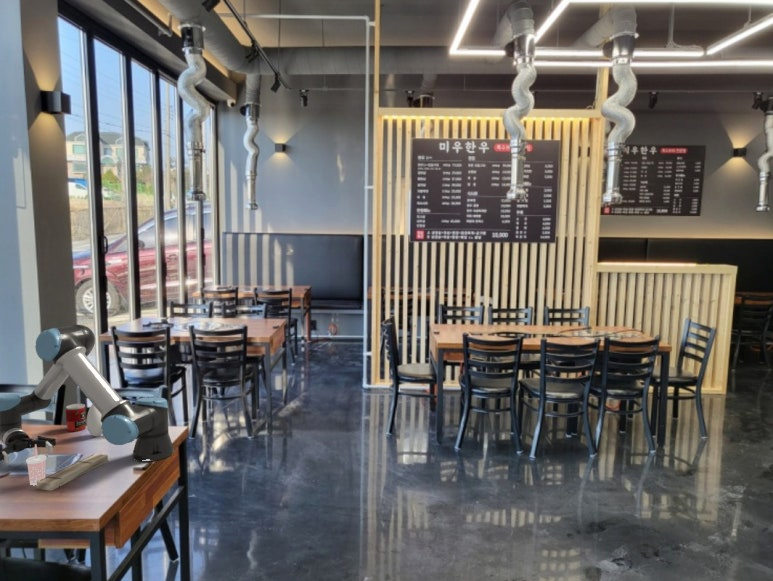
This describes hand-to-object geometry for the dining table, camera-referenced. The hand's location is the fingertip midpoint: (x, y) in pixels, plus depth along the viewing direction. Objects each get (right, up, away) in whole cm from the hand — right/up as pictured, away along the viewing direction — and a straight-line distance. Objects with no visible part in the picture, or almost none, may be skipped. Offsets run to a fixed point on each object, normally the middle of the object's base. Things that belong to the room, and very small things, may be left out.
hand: (30, 454), depth 191 cm
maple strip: (+15, -8, +3) cm, 17 cm away
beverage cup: (+6, -9, -4) cm, 11 cm away
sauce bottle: (+1, -5, +43) cm, 43 cm away
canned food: (-13, -5, +52) cm, 54 cm away
